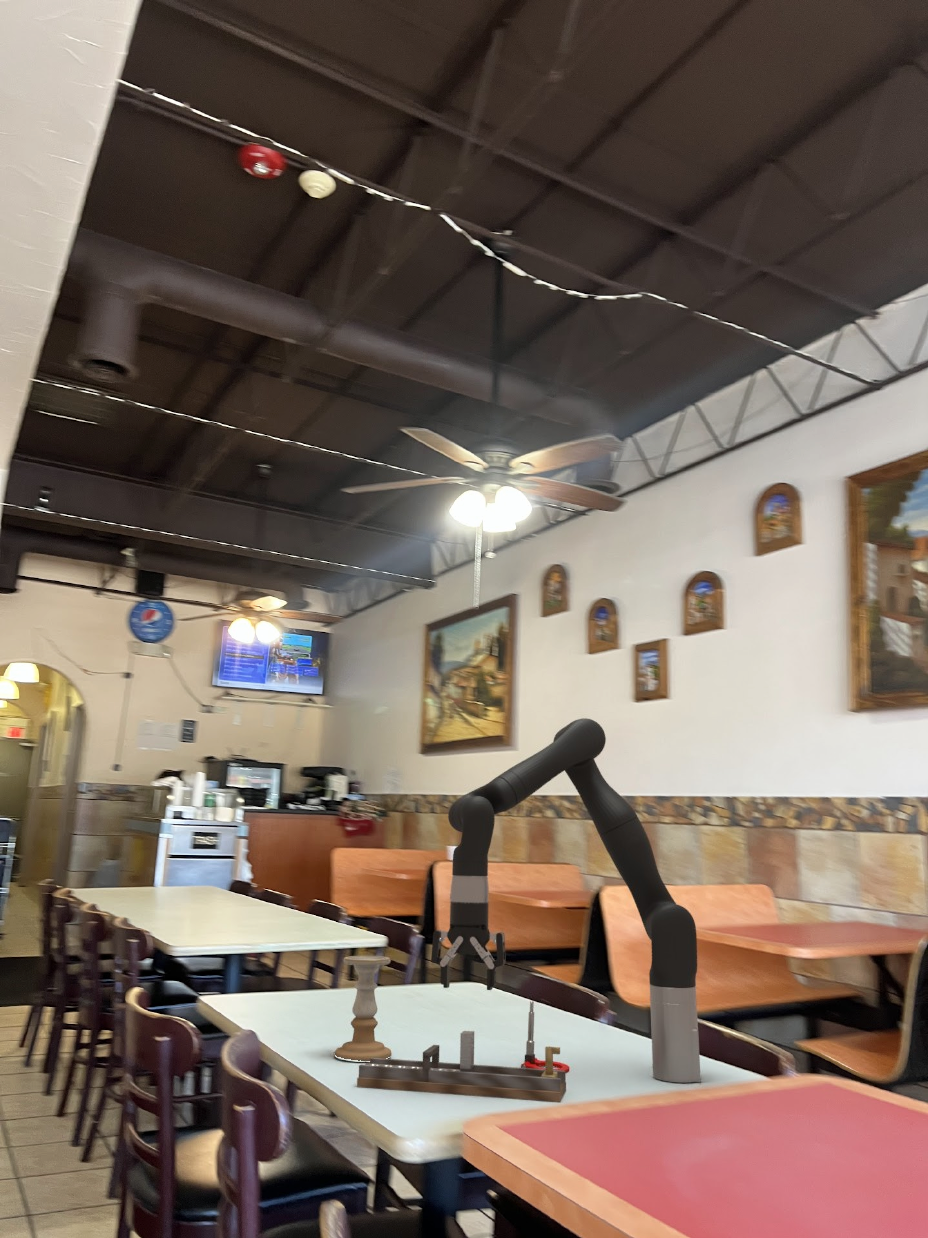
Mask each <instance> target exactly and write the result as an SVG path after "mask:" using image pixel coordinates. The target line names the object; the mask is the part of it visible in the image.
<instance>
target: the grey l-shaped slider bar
mask: <svg viewBox="0 0 928 1238" xmlns="http://www.w3.org/2000/svg"><path fill="white" fill-rule="evenodd" d="M459 1037H460V1038H459V1039H460V1040H459V1041H460V1044H459V1045H460V1048H459V1049H460V1050H459V1064H460V1070H458V1069H443V1068H430V1069H433V1070H448V1071H462V1072H474V1065H475V1031H473V1030H464V1031H462V1032H460V1036H459ZM363 1065H376V1066H390V1067H405V1068H419V1069H422V1067H414V1066H400V1065H385V1064H371V1063H370V1062H369V1063H363Z"/></svg>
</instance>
